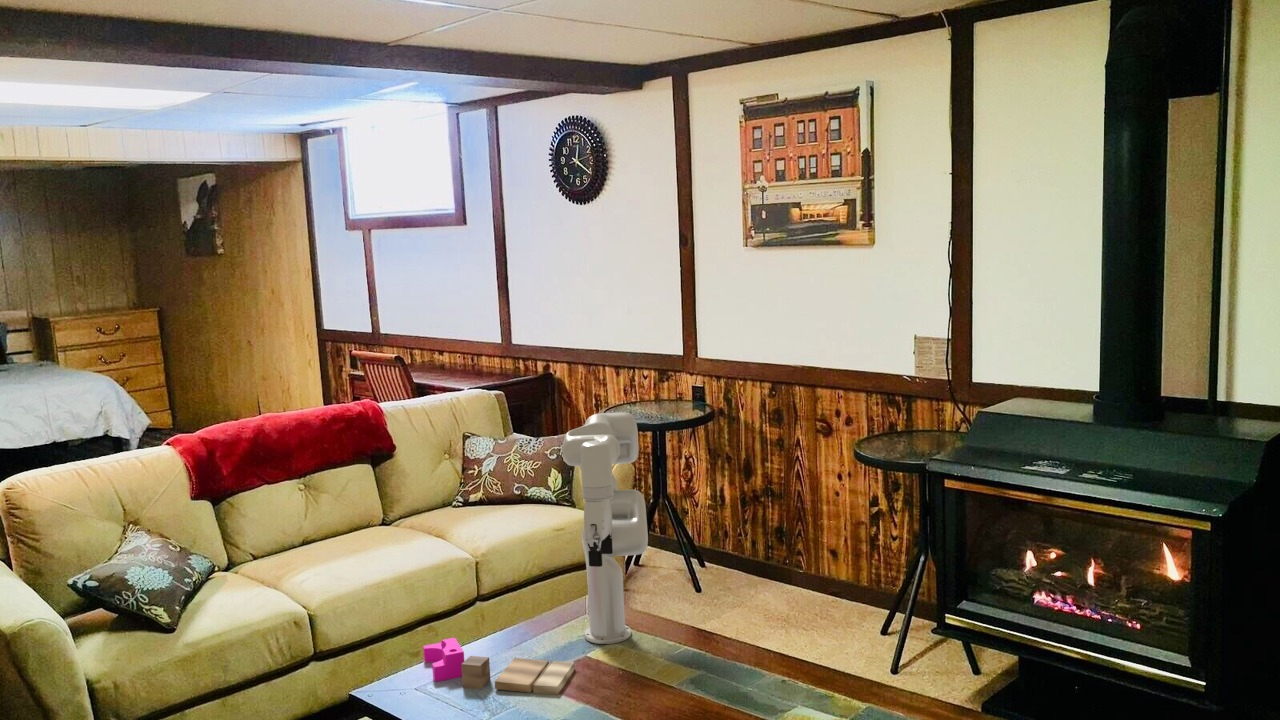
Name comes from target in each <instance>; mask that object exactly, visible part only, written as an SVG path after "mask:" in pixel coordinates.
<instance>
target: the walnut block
mask: <svg viewBox="0 0 1280 720" xmlns="http://www.w3.org/2000/svg"><path fill="white" fill-rule="evenodd" d="M461 666H462V677H461V678H462V680H461V681H462V688H464V689H472V690H473V689H474V690H475V689H476V690H483V689H484V688H485V686H487V685H488V684H489V683H490V682H491V667H490V657H488V656H478V655H476V656H475V655H469V656H468V658H466V659H464V662H463V663H462V664H461Z"/></svg>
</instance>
